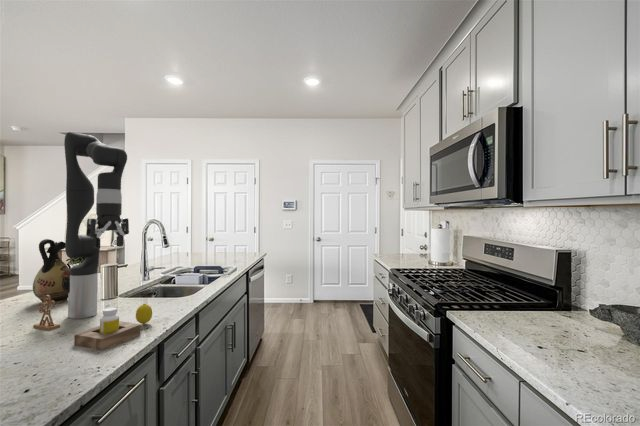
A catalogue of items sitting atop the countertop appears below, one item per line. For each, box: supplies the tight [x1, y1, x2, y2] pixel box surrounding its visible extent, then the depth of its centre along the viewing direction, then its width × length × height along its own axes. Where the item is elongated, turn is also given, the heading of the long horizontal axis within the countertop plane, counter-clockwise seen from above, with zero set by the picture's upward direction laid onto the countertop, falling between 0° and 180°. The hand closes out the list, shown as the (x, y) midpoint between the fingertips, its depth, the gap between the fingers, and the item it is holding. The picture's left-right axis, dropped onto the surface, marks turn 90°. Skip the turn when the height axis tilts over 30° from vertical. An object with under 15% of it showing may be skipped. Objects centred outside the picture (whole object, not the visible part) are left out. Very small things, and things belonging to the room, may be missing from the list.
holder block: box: [73, 320, 142, 352], centre depth 106 cm, size 12×14×4 cm
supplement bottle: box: [99, 307, 120, 334], centre depth 106 cm, size 5×5×10 cm
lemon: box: [135, 303, 153, 326], centre depth 120 cm, size 6×6×8 cm
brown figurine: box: [32, 295, 61, 332], centre depth 116 cm, size 9×4×12 cm, turn 71°
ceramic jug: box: [32, 238, 71, 304], centre depth 149 cm, size 17×15×30 cm
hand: (108, 247), depth 113 cm, fingers open, 8 cm apart
